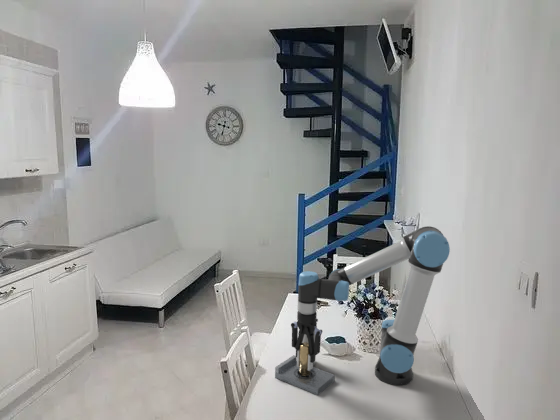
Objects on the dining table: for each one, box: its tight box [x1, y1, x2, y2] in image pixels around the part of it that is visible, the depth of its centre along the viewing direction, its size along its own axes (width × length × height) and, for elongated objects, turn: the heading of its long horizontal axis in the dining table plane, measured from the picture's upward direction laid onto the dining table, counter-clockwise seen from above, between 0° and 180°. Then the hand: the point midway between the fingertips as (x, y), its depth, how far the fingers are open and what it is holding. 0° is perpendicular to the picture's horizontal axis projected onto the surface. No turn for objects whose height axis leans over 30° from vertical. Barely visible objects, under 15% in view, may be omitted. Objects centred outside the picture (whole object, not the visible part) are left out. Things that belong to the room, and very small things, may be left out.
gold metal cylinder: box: [299, 342, 310, 377], centre depth 171 cm, size 4×4×12 cm
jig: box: [274, 354, 336, 396], centre depth 171 cm, size 20×13×4 cm, turn 54°
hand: (304, 367), depth 171 cm, fingers closed on gold metal cylinder, 4 cm apart
